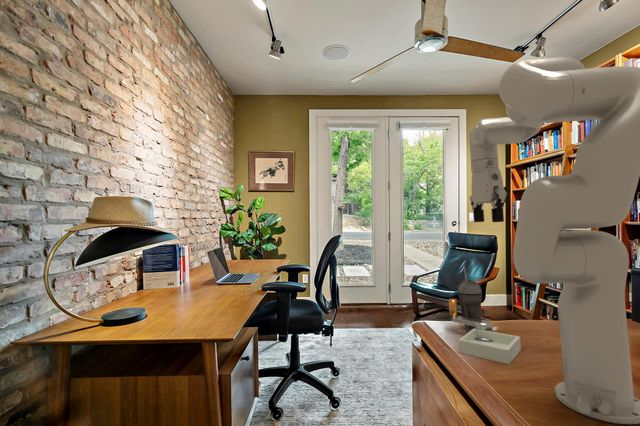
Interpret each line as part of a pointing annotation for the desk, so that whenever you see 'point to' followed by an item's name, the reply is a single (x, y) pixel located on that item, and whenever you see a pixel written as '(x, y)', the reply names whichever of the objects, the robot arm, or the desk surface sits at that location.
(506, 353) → the tray
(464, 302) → the beverage cup
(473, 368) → the desk surface
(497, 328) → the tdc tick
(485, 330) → the crank base
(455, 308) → the crank
